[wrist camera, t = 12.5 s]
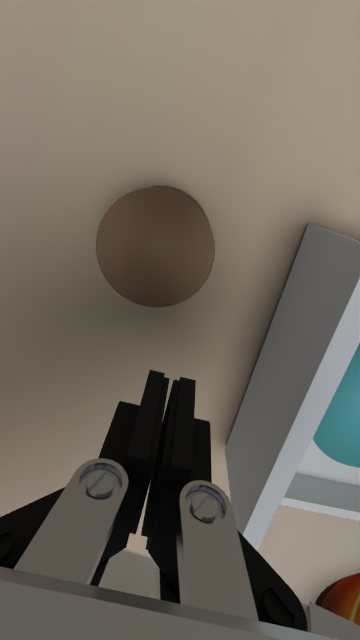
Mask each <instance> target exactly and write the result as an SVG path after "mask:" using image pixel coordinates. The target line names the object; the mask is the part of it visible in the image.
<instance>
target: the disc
mask: <svg viewBox="0 0 360 640" xmlns="http://www.w3.org/2000/svg"><path fill="white" fill-rule="evenodd" d="M313 440H314V442H315V444H316V445H317V446H318V448H319V449H320V450H321V451H322V452H323V453H324V454H326V455H327V456H328V457H330V458H331V459H333V460H335V461H337V462H339V463H342V464H345V465H348V466H352V467H358V468H360V343H359V345H358V347H357V349H356V351H355V353H354V355H353V357H352V359H351V361H350V363H349V365H348V367H347V370H346V372H345V374H344V376H343V378H342V380H341V382H340V384H339V386H338V388H337V390H336V392H335V394H334V396H333V398H332V400H331V402H330V404H329V406H328V408H327V410H326V412H325V414H324V416H323V418H322V420H321V422H320V424H319V426H318V428H317V430H316V432H315V434H314V436H313Z"/></svg>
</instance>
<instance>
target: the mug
mask: <svg viewBox="0 0 360 640" xmlns="http://www.w3.org/2000/svg"><path fill="white" fill-rule="evenodd" d="M315 605H317V606H319V607H322V608H324V609H326V610H328V611H330V612H332V613H334V614H336V615H338V616H340V617H342V618H345V619H347V620H349V621H351V622H353V623H355V624H357V625H359V626H360V573H358V574H355V575H351V576H348V577H345V578H343V579H341V580H339V581H336V582H335V583H333V584H332V585H330V586H329V587H327V588H326V589H325V590H324V591H323V592H322V593H321V594H320V596H319V597H318V598H317V600H316V603H315Z"/></svg>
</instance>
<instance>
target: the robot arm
mask: <svg viewBox="0 0 360 640" xmlns="http://www.w3.org/2000/svg"><path fill="white" fill-rule="evenodd" d="M195 383H196V382H195V380H192V379H187V378H183V377H180V380H179V381H178V380H174V381H173V385H172V388H171V392H170V396H169V400H168V403H167V407H166V411H165V415H164V418H163V414H164V408H165V402H166V396H167V390H168V384H169V378H165V377H164V373H162V372H157V371H153V370H150V371H149V375H148V379H147V382H146V386H145V390H144V393H143V397H142V401H141V404H140V406H139V405H135V404H131V403H126V402H122V401H120V402H119V404H118V406H117V409H116V412H115V414H114V417H113V420H112V422H111V425H110V428H109V431H108V433H107V436H106V439H105V441H104V444H103V447H102V449H101V452H100V455H99V458H98V459H93V460H90V461H87V462H86V463H84V464H82V465H81V466H80V467H79V468H78V469H77V470H76V472H75V473H74V475H73V476H72V478H71V480H70V481H69V483H68V484H67V486H66V487H64V488H62V489H60V490H58V491H56V492H54V493H51V494H49V495H47V496H45V497H43V498H41V499H39V500H36V501H34V502H32V503H30V504H28V505H26V506H24V507H21V508H19V509H17V510H15V511H13V512H11V513H9V514H6V515H4V516H2V517H0V640H360V626H359V625H357V624H355V623H353V622H351V621H349V620H347V619H345V618H342V617H340V616H338V615H336V614H334V613H332V612H330V611H328V610H326V609H324V608H322V607H319V606H317V605H315V604H313V603H311V602H310V603H309V604H308V606H307V605H305V604H303V603H301V602H300V600H299V599H298V597H297V596H296V595H295V593H294V592H293V591H292V589H291V588H290V587H289V586H288V585H287V584H286V583H285V582H284V581H283V579H282V578H281V577H280V576H279V575H278V574H277V573H276V572H275V571H274V569H273V568H272V567H271V566H270V565H269V564H268V563H267V562H266V561H265V559H264V558H263V557H262V556H261V555H260V554H259V553H258V552H257V551H256V549H255V548H254V547H253V546H252V545H251V544H250V543H249V542H248V541H247V539H246V538H245V537H244V536H243V535H242V534H241V533H240V532H239V531H238V529H237V526H236V522H235V518H234V514H233V509H232V505H231V503H230V500H229V498H228V496H227V495H226V494H225V492H224V491H223V490H222V489H220V488H219V487H218V486H217V485H215V484H213V483H212V480H211V439H210V422H209V421H205V420H200V419H196V418H194V407H195ZM162 420H163V422H162ZM150 480H151V481H150ZM149 484H150V487H149ZM148 487H149V493H148V499H147V504H146V510H145V516H144V522H143V527H142V534H141V535H142V536H146V537H148V539H147V545H146V549H147V550H149V551H148V552H149V554H150V555H151V557H152V558H153V560H154V561H155V563H156V564H157V566H156V572H155V586H156V599H153V598H149V597H144V596H139V595H135V594H129V593H125V592H120V591H115V590H111V589H105V588H101V587H100V586H101V584H102V581H103V579H104V576H105V573H106V571H107V568H108V566H109V563H110V558H111V557H112V556H114V555H115V554H117V553H118V552H119V551H121V550H123V549H124V548H126V545H127V542H128V538H129V534H130V533H133V534H136V531H137V528H138V524H139V520H140V517H141V513H142V509H143V506H144V502H145V498H146V495H147V491H148Z"/></svg>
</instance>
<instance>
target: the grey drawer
mask: <svg viewBox="0 0 360 640" xmlns="http://www.w3.org/2000/svg"><path fill="white" fill-rule="evenodd" d="M359 343H360V241H359V240H356V239H353V238H351V237H348V236H345V235H343V234H340V233H338V232H335V231H332V230H330V229H327V228H323V227H319V226H315V225H311V224H308V226H307V228H306V231H305V234H304V236H303V239H302V242H301V245H300V247H299V250H298V253H297V255H296V258H295V261H294V264H293V266H292V269H291V272H290V274H289V277H288V280H287V282H286V285H285V288H284V291H283V293H282V296H281V299H280V301H279V304H278V307H277V309H276V312H275V315H274V318H273V320H272V323H271V326H270V328H269V331H268V334H267V337H266V339H265V342H264V345H263V347H262V350H261V353H260V355H259V358H258V361H257V364H256V366H255V369H254V372H253V374H252V377H251V380H250V382H249V385H248V388H247V391H246V393H245V396H244V399H243V401H242V404H241V407H240V410H239V412H238V415H237V418H236V420H235V423H234V426H233V428H232V431H231V434H230V437H229V439H228V442H227V445H226V447H225V453H226V462H227V470H228V479H229V487H230V496H231V504H232V509H233V514H234V518H235V522H236V526H237V529H238V531H239V532H240V533H241V534H242V535H243V536H244V537H245V538H246V539H247V541H248V542H249V543H250V544H251V545H252V546H253V547H254V548H255V549H256V551H257V550H258V548H259V546H260V544H261V542H262V539H263V537H264V535H265V533H266V531H267V529H268V527H269V525H270V523H271V521H272V519H273V517H274V515H275V513H276V511H277V509H278V507H279V505H283V506H288V507H293V508H298V509H303V510H308V511H313V512H318V513H323V514H328V515H333V516H338V517H343V518H348V519H353V520H358V521H360V468H358V467H352V466H348V465H345V464H342V463H339V462H337V461H335V460H333V459H331V458H330V457H328V456H327V455H326V454H324V453H323V452H322V451H321V450H320V449H319V448H318V446H317V445H316V444H315V442H314V440H313V436H314V434H315V432H316V430H317V428H318V426H319V424H320V422H321V420H322V418H323V416H324V414H325V412H326V410H327V408H328V406H329V404H330V402H331V400H332V398H333V396H334V394H335V392H336V390H337V388H338V386H339V384H340V382H341V380H342V378H343V376H344V374H345V372H346V370H347V367H348V365H349V363H350V361H351V359H352V357H353V355H354V353H355V351H356V349H357V347H358V345H359Z"/></svg>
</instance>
